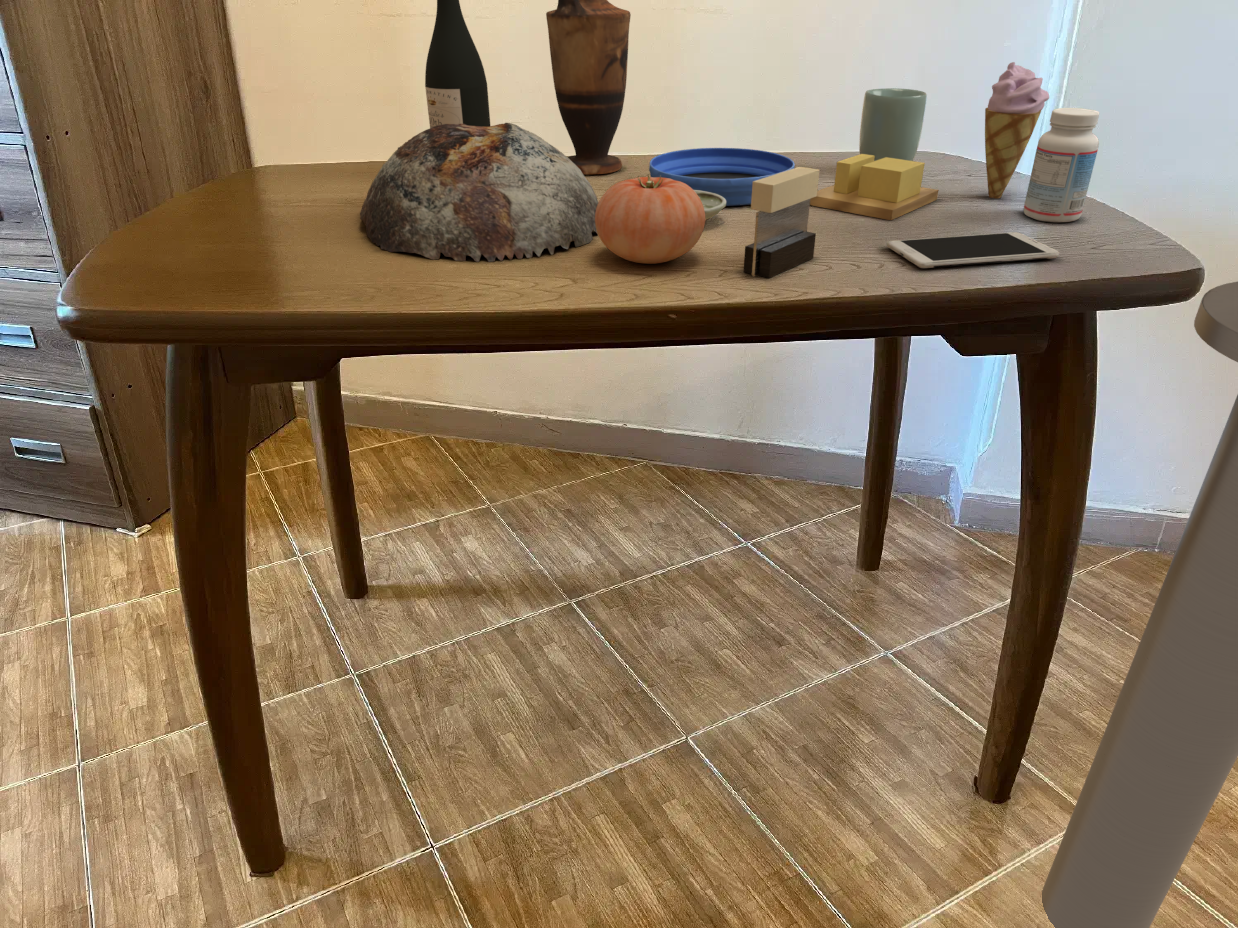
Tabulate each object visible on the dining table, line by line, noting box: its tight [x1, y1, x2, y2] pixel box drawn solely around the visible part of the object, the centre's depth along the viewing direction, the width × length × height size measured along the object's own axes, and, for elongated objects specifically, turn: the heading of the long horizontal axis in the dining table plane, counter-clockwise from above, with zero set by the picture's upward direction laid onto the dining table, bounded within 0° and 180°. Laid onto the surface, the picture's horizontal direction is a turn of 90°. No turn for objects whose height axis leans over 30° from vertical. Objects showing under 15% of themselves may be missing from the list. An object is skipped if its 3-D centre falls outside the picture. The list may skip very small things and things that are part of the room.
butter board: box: [810, 184, 939, 221], centre depth 105 cm, size 11×12×1 cm
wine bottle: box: [424, 0, 491, 129], centre depth 112 cm, size 8×8×30 cm
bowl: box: [648, 147, 796, 207], centre depth 110 cm, size 18×18×4 cm
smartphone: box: [886, 231, 1060, 269], centre depth 87 cm, size 8×1×15 cm
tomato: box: [595, 172, 706, 265], centre depth 85 cm, size 11×11×8 cm
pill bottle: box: [1023, 107, 1100, 223], centre depth 96 cm, size 6×6×11 cm
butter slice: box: [833, 153, 875, 194], centre depth 105 cm, size 2×6×4 cm, turn 138°
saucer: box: [694, 190, 727, 221], centre depth 98 cm, size 10×10×2 cm
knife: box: [750, 166, 820, 278], centre depth 83 cm, size 2×9×8 cm, turn 138°
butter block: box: [858, 157, 926, 203], centre depth 103 cm, size 5×6×4 cm
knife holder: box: [743, 230, 817, 279], centre depth 84 cm, size 3×8×2 cm, turn 138°
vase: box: [545, 0, 632, 176], centre depth 114 cm, size 11×11×30 cm
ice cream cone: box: [984, 61, 1050, 199], centre depth 103 cm, size 7×6×15 cm
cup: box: [858, 88, 928, 161], centre depth 117 cm, size 8×8×10 cm
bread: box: [359, 122, 599, 263], centre depth 98 cm, size 27×32×10 cm
